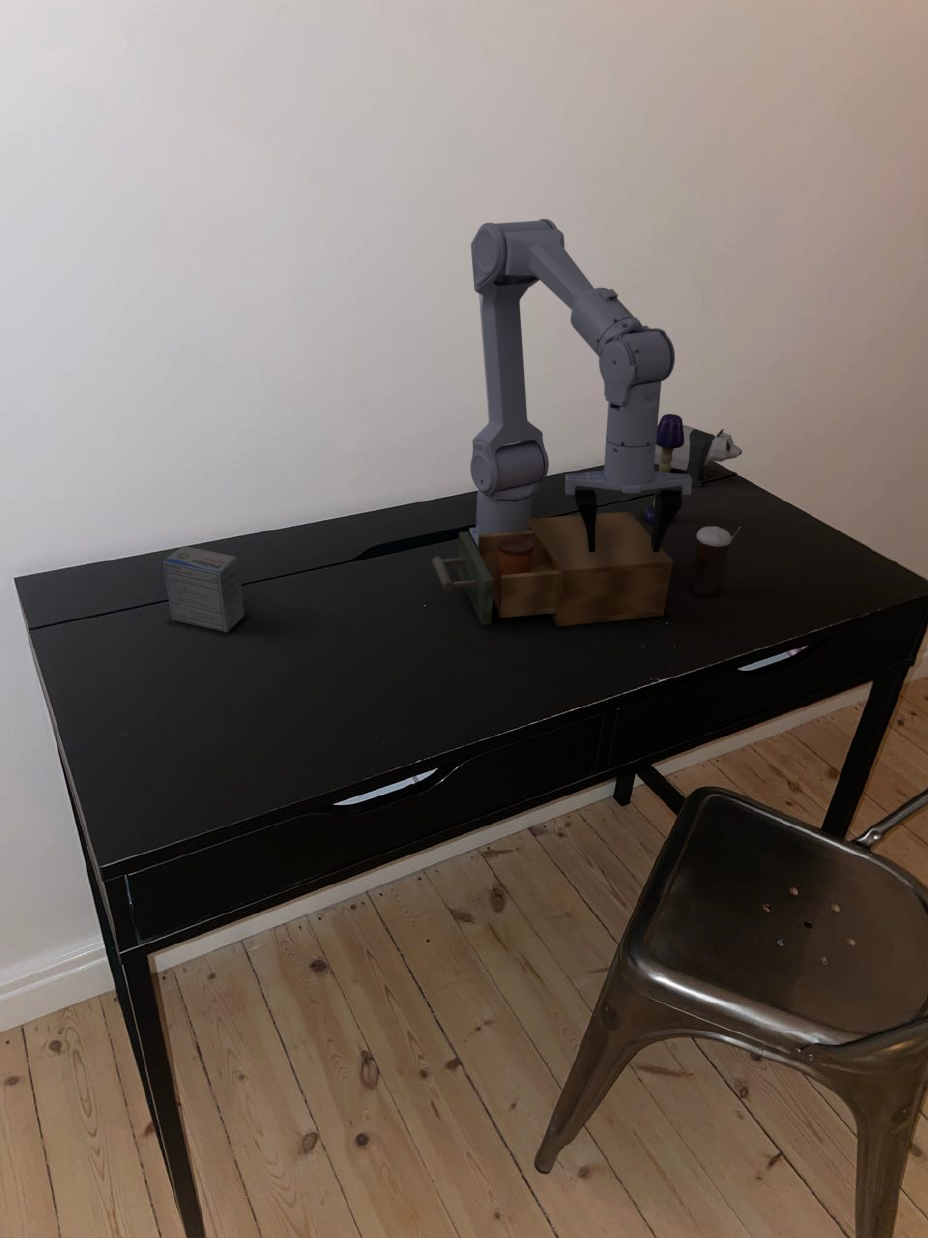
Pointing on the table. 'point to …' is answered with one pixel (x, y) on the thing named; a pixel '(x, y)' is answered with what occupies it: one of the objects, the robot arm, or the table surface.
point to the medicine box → (204, 588)
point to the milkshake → (710, 558)
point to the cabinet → (604, 569)
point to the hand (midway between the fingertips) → (623, 549)
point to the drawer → (516, 590)
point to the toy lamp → (667, 448)
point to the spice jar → (513, 556)
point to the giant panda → (699, 452)
